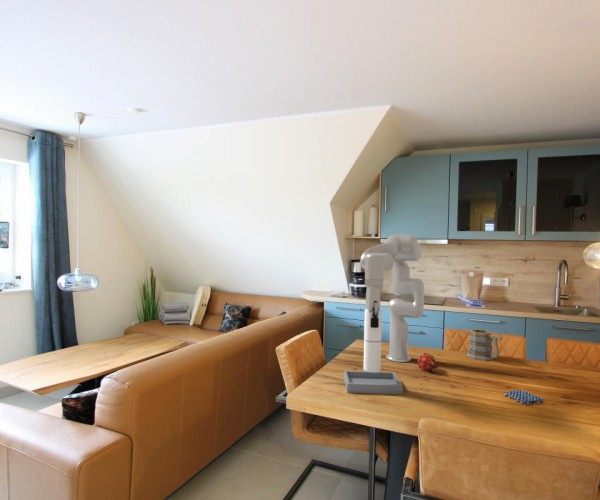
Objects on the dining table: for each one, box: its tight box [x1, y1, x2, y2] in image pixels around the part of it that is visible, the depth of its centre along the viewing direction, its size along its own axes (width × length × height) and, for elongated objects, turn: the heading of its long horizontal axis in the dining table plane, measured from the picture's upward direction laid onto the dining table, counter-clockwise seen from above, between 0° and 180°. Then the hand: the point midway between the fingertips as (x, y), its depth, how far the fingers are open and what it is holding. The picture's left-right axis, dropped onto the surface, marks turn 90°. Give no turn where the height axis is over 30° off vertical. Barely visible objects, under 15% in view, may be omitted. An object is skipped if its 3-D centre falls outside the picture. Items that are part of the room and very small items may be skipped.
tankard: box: [466, 328, 504, 361], centre depth 204 cm, size 20×13×15 cm, turn 17°
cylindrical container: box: [362, 308, 383, 373], centre depth 161 cm, size 7×7×25 cm
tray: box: [343, 370, 404, 395], centre depth 162 cm, size 16×22×4 cm
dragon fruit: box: [417, 352, 440, 373], centre depth 183 cm, size 8×8×12 cm
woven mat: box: [503, 389, 545, 406], centre depth 151 cm, size 10×11×2 cm
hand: (372, 325), depth 161 cm, fingers closed on cylindrical container, 7 cm apart
